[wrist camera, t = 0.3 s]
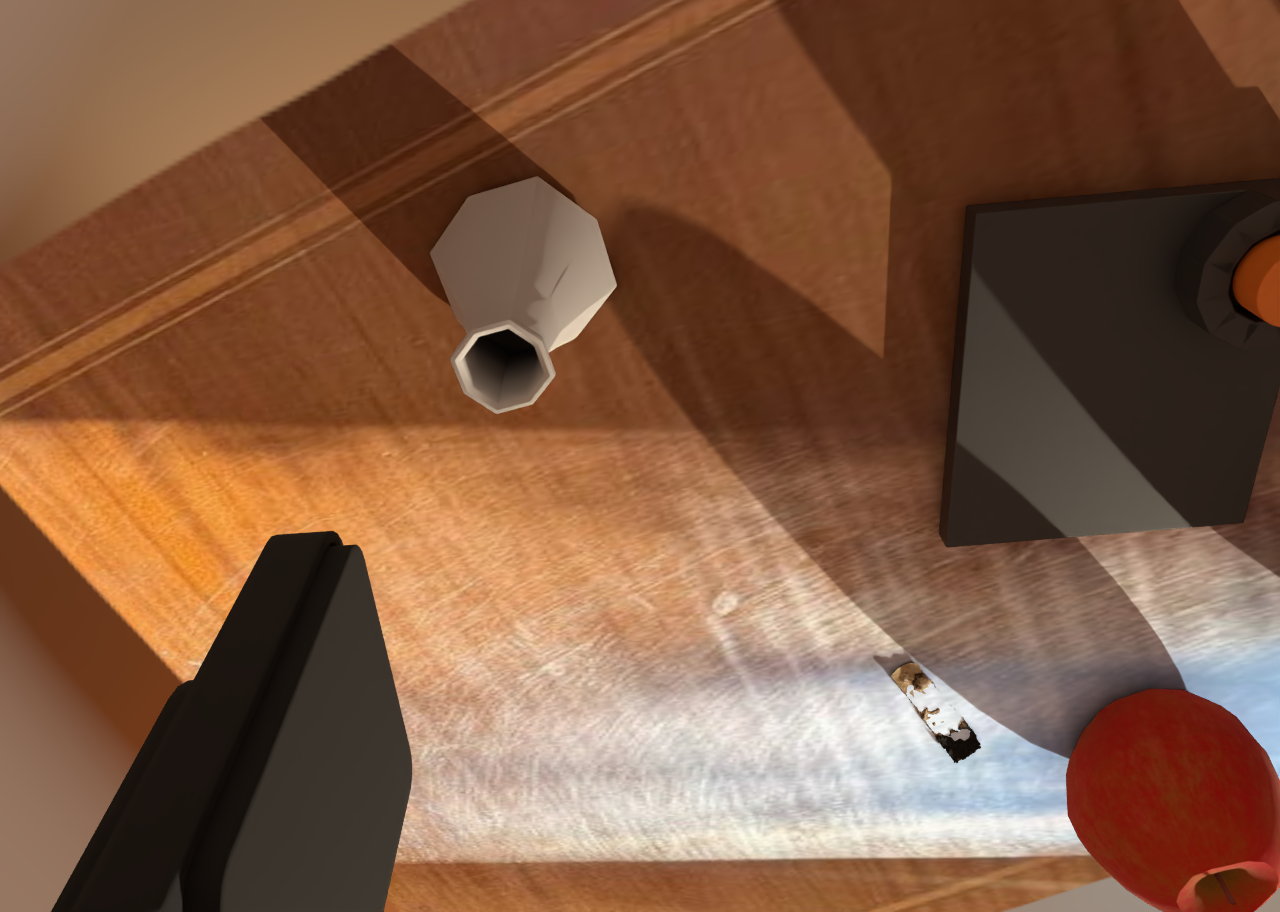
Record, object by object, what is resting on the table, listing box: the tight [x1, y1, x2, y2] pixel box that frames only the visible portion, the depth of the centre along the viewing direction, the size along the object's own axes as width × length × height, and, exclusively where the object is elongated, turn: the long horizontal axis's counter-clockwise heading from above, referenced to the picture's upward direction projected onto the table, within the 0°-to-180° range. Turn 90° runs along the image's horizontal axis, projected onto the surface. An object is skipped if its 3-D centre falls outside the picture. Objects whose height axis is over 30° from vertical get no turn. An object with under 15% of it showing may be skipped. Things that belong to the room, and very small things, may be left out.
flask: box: [430, 176, 617, 414], centre depth 36 cm, size 7×7×10 cm
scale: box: [939, 178, 1280, 547], centre depth 42 cm, size 16×15×3 cm
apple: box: [1066, 688, 1280, 912], centre depth 50 cm, size 10×10×10 cm
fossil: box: [891, 663, 981, 763], centre depth 53 cm, size 8×2×1 cm, turn 36°
